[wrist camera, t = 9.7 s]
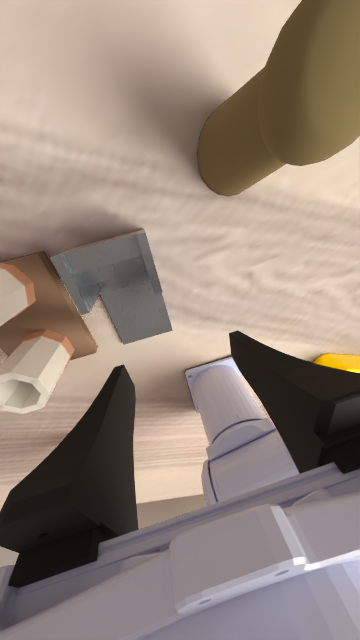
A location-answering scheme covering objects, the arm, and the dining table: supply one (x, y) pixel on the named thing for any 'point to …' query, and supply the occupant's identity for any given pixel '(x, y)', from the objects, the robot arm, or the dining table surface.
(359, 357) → the element tile
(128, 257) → the grey metal bracket
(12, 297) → the sleeve
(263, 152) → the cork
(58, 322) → the pin board
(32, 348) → the sleeve
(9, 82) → the dining table surface
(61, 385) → the dining table surface
